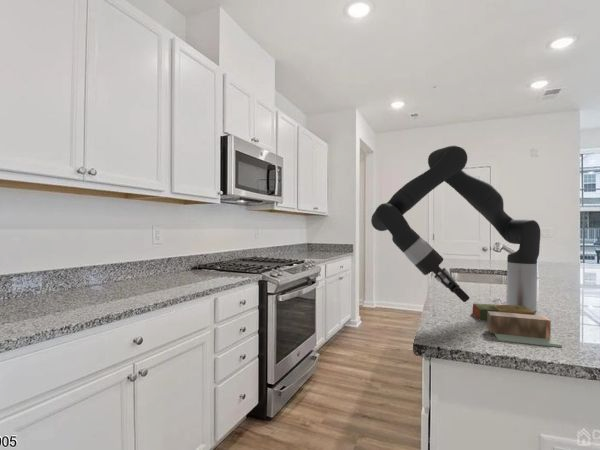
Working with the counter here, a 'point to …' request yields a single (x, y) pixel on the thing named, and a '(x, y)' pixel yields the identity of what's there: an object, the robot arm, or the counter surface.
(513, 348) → the counter surface
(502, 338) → the mat
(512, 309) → the carton
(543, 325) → the copper block
